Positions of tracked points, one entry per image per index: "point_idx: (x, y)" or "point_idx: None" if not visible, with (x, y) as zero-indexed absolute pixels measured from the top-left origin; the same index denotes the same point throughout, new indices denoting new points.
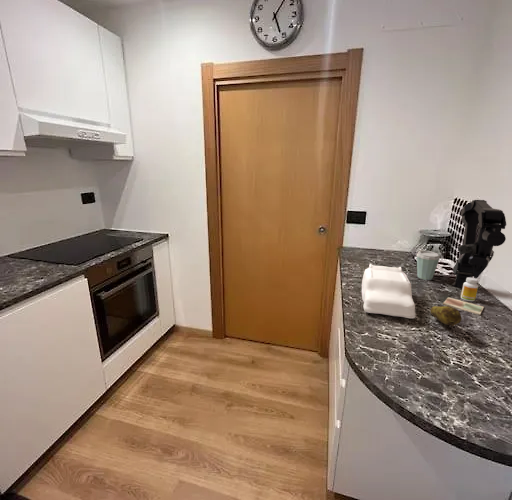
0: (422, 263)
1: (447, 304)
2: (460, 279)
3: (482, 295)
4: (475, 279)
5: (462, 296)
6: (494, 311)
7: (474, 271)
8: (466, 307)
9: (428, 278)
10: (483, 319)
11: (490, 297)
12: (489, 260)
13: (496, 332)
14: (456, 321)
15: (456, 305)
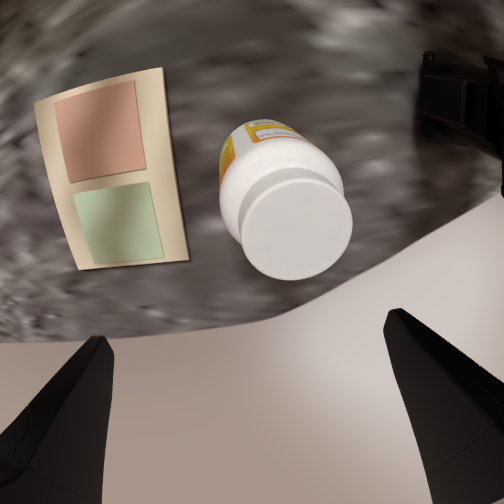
0: None
1: (39, 125)
2: (458, 95)
3: (393, 209)
4: (304, 263)
5: (229, 138)
6: (186, 295)
7: (37, 407)
8: (84, 207)
9: None
10: (54, 284)
11: (386, 243)
12: (435, 500)
13: (16, 323)
14: None
15: (65, 161)
